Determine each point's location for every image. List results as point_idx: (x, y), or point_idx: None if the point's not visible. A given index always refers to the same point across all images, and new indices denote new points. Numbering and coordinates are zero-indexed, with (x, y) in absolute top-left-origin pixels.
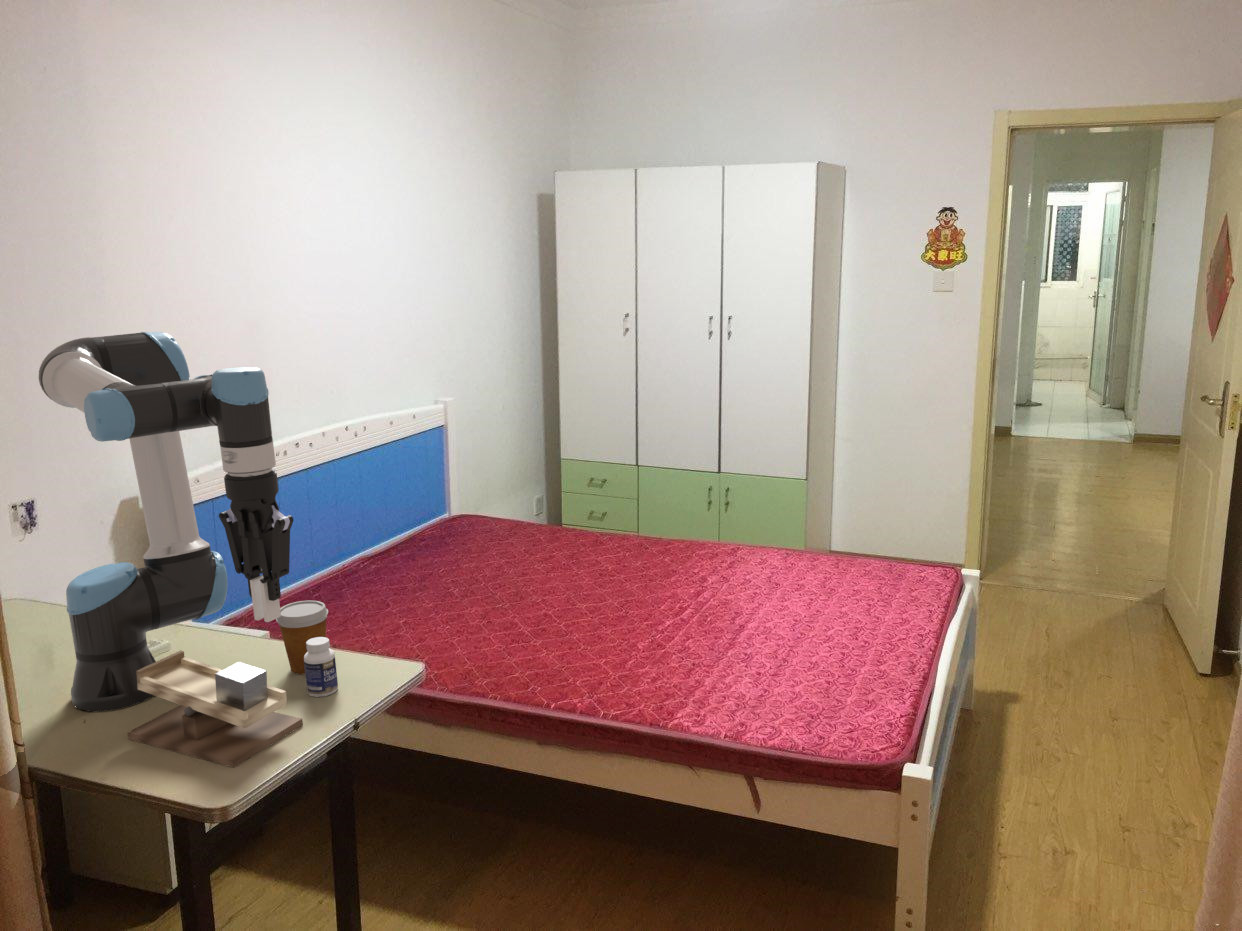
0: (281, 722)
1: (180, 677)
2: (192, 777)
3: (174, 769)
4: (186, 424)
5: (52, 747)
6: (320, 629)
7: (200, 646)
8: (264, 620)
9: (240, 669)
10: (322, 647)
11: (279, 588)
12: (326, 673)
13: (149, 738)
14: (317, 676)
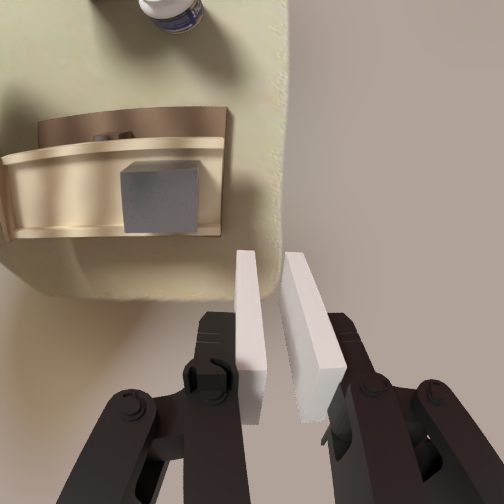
0: (203, 128)
1: (37, 191)
2: (191, 265)
3: (156, 259)
4: None
5: (19, 267)
6: None
7: None
8: (279, 305)
9: (149, 195)
10: None
11: (360, 345)
12: (195, 10)
13: None
14: (183, 21)
